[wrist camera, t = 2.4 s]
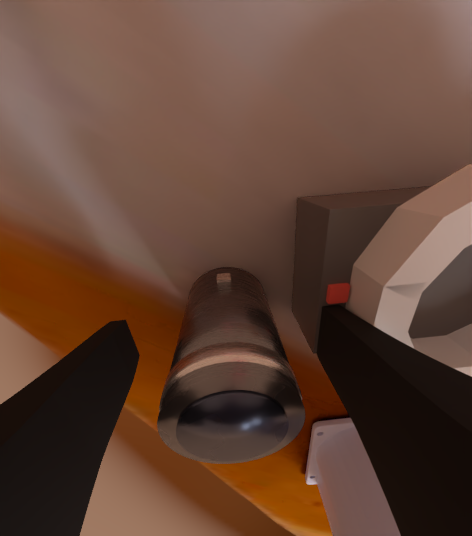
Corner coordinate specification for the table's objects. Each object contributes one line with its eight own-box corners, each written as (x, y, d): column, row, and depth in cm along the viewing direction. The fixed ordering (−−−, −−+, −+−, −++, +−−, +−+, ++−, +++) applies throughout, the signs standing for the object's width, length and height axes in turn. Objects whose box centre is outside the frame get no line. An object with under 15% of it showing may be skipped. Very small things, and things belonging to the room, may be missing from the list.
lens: (266, 327, 12) (303, 461, 7) (194, 334, 12) (171, 477, 6) (265, 261, 10) (316, 368, 5) (181, 269, 10) (133, 388, 5)
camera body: (472, 305, 12) (596, 372, 8) (291, 324, 12) (326, 402, 8) (548, 153, 9) (822, 139, 5) (298, 173, 9) (366, 177, 5)
